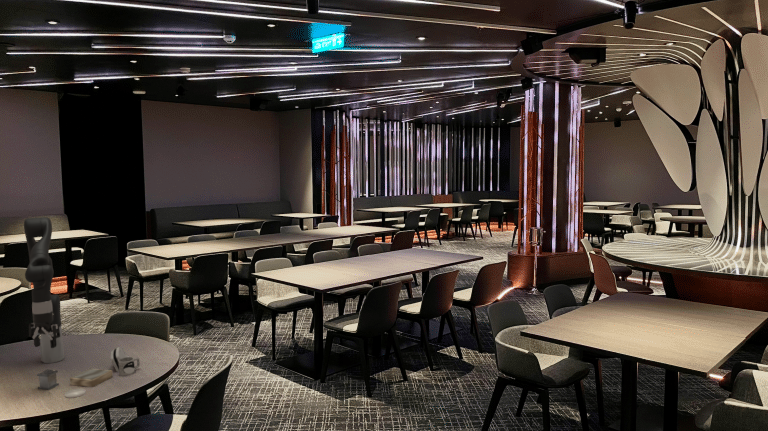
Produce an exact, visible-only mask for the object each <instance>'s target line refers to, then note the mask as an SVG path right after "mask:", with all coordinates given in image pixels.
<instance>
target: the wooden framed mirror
mask: <svg viewBox="0 0 768 431" xmlns="http://www.w3.org/2000/svg"><path fill="white" fill-rule="evenodd" d="M113 376H114V375H113V370H111V369H98V368H89V369H87V370H85V371H83V372H81V373H78V374H76V375H75V376H72V377H70V378H69V382H70V386H78V387H79V386H81V387H87V388H88V387H89V388H94V387H96V386H98V385H99V384H102V383H104V382H105V381H107V380H109V379H111V378H113Z"/></svg>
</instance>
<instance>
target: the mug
mask: <svg viewBox="0 0 768 431" xmlns="http://www.w3.org/2000/svg"><path fill="white" fill-rule="evenodd" d="M135 361H136V362H137V363H136V365H135ZM118 362H119V372H118V374H119V376H121V377H122V376H123V377H127V376H131V375H134V374H135V373H136V371H135V370H136V369H138V368H139V367H140V362H141V361H140V358H139V357H133V356H130V357H125V358H121V359H119V360H118Z"/></svg>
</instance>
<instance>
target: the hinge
mask: <svg viewBox="0 0 768 431" xmlns="http://www.w3.org/2000/svg"><path fill="white" fill-rule="evenodd" d="M125 357H131V356H130V355H127V353H126V351H125V350H124V347H123V346H118V347H117V348H114V349H112V350H111V353H110V360H111V363H112V365H113V367H114V369H115V372H116V373H119V362H118V360H119V359H121V358H125Z"/></svg>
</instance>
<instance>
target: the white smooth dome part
mask: <svg viewBox="0 0 768 431" xmlns="http://www.w3.org/2000/svg"><path fill="white" fill-rule="evenodd" d="M86 393H87V390H86V388H80V387H79V388H73V389H69V390H67V391H65V392H64V397H65V398H67V399H73V398H78V397H82V396H84V395H86Z"/></svg>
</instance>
